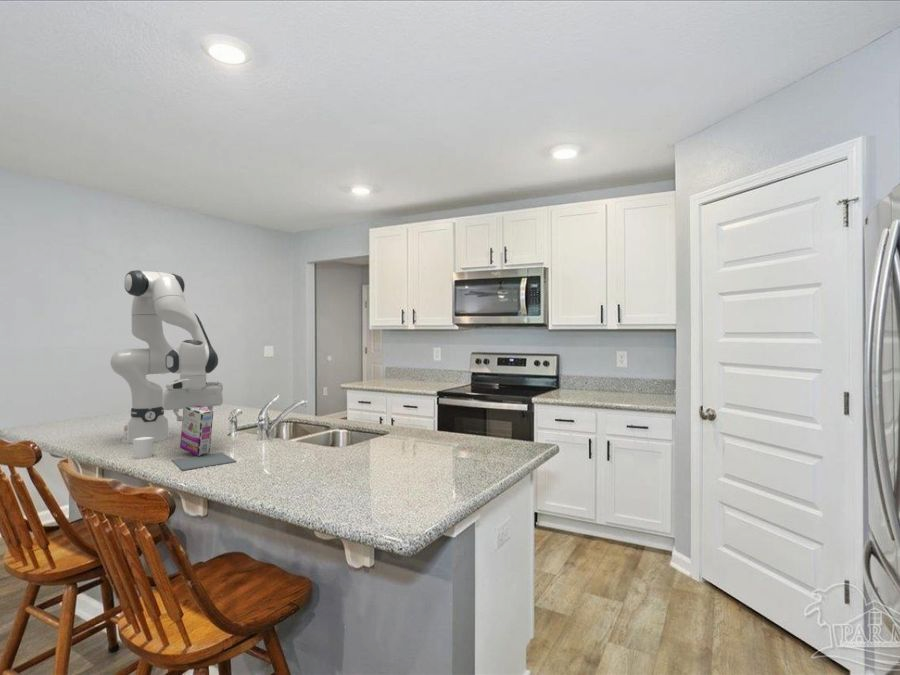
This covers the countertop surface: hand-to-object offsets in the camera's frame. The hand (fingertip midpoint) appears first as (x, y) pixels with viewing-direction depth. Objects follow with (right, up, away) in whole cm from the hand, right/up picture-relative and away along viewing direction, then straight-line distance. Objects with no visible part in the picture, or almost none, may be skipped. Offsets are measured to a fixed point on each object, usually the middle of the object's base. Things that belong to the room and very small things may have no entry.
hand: (193, 419), depth 184 cm
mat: (+10, -13, -11) cm, 20 cm away
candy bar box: (+1, -12, -2) cm, 12 cm away
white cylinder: (-16, -13, -4) cm, 21 cm away
